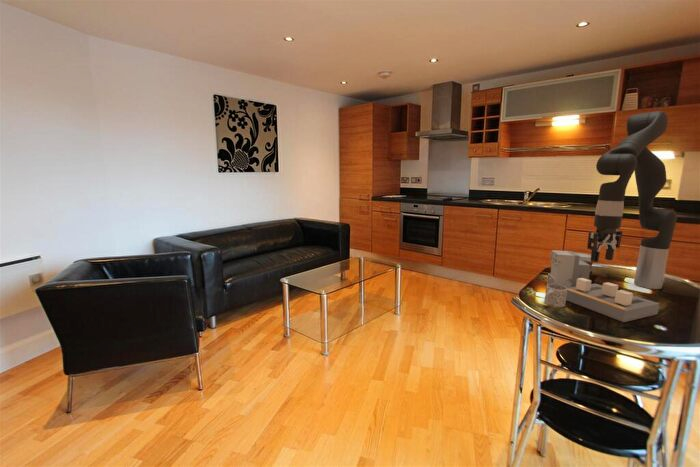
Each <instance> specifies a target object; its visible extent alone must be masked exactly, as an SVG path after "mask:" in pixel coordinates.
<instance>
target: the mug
mask: <svg viewBox="0 0 700 467" xmlns="http://www.w3.org/2000/svg"><path fill="white" fill-rule="evenodd" d="M566 296H567V287H565V286H562V285H558V284H546V287H545V294H544V304H545V305H547V306H549V305H550V307H553V306H554V307H553V308H564V307H566V303H567V300H566Z"/></svg>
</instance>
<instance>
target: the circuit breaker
mask: <svg viewBox="0 0 700 467" xmlns="http://www.w3.org/2000/svg"><path fill="white" fill-rule="evenodd" d="M576 253H577V252H575V251H571V250H555V249H554V250H553V249H551V253H550V255H549V256H550V257H549V261H550V262H551V267H550V272H549V273H548V274H547V282H546V283H547V284H546V285H548V284H558V285H562V286H565V287H567V288H571V287H576V282H577V279H578V278H585V279H588V280H590V274H591V275H592V274H593V271H592V269H591V270H590V267H591V265H589V264H587V263H585V262H584V261H581V260H579V258H580V256H579V255H577V254H576ZM591 268H592V267H591Z"/></svg>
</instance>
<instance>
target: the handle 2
mask: <svg viewBox="0 0 700 467" xmlns="http://www.w3.org/2000/svg"><path fill="white" fill-rule="evenodd" d="M633 295H634V293H633V292H630V291H627V290H624V289H620V290H619V289H618V291H616V295H615V301H614V302H616V303H619V304H622V305H625V306H626V305H631V302H632V297H633Z"/></svg>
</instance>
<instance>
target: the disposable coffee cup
mask: <svg viewBox="0 0 700 467" xmlns="http://www.w3.org/2000/svg"><path fill="white" fill-rule="evenodd" d="M575 253H576V254H577V255H579V256H580V258H579V260H581V261H584V262H585V263H587V264H589V265H591V267H590V270H591V271H592V267H593V263H594V262H593V261H591V254H590V253H586V252H575Z"/></svg>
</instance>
